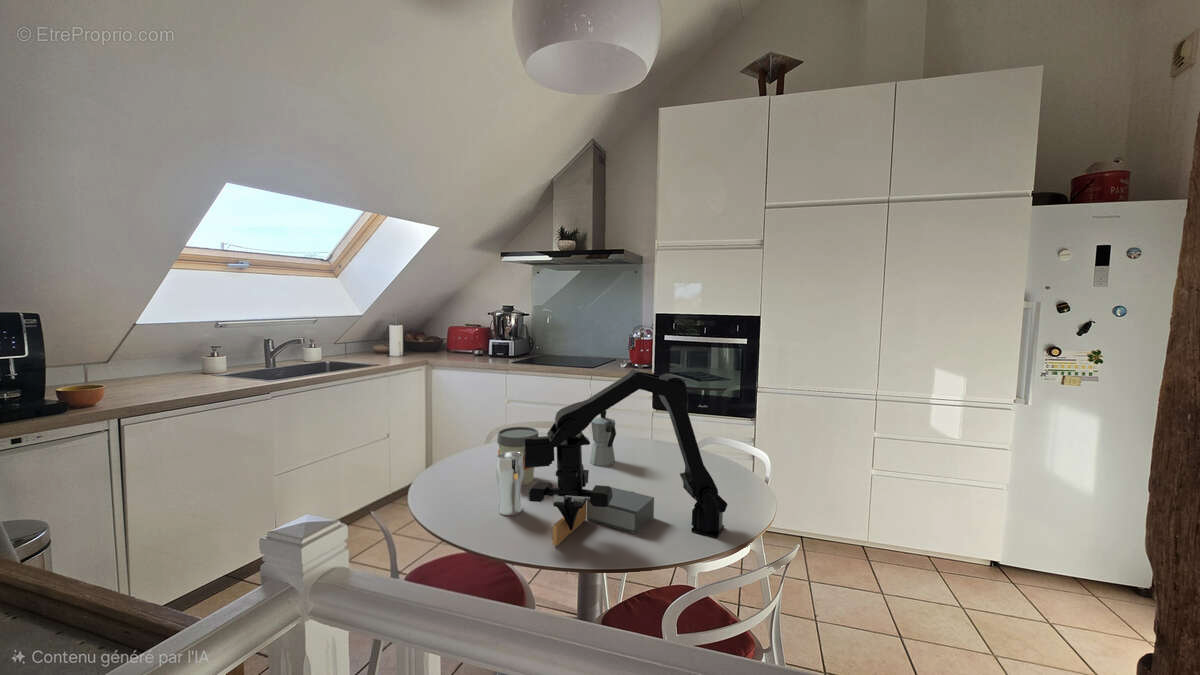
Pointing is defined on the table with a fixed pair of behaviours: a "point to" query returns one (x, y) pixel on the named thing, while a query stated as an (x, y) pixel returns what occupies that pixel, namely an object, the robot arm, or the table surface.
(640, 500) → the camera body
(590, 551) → the table surface
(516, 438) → the reusable coffee cup
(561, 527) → the side door
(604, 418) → the coffee maker
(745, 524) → the table surface
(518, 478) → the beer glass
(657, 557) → the table surface
